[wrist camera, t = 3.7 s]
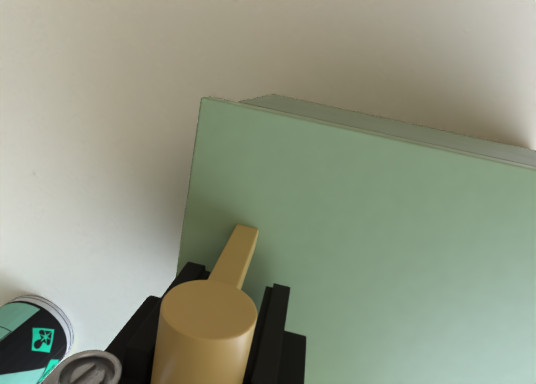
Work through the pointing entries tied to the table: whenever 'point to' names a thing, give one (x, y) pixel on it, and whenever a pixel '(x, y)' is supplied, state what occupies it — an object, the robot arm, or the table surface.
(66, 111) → the table surface
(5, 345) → the spray can
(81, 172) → the table surface
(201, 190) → the lid
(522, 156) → the chest
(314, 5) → the table surface
